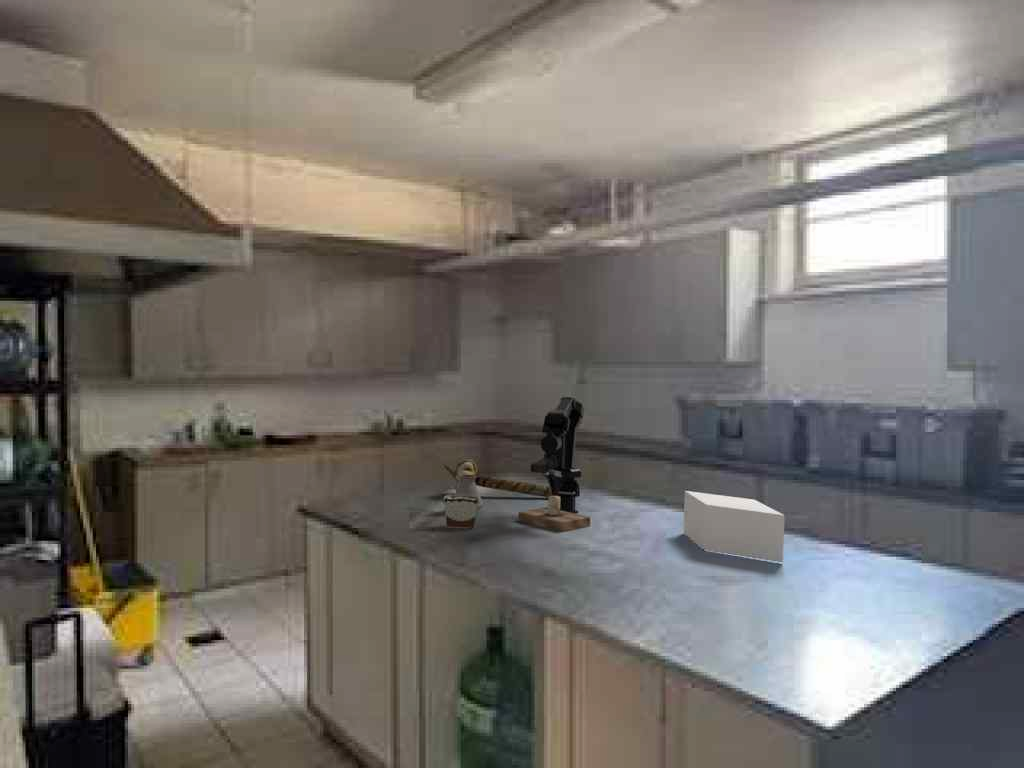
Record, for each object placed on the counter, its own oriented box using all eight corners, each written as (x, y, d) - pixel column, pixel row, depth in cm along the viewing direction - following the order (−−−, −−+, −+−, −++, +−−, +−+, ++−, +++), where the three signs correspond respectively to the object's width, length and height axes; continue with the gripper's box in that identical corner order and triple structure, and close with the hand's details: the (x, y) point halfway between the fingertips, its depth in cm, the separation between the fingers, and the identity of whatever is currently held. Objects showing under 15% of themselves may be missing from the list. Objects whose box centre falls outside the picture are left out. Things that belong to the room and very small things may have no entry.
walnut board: (546, 515, 267) (547, 507, 266) (589, 526, 252) (590, 517, 252) (518, 520, 257) (518, 512, 257) (561, 532, 242) (561, 522, 242)
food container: (481, 524, 250) (482, 494, 250) (479, 528, 244) (479, 498, 244) (445, 523, 251) (445, 493, 251) (441, 527, 245) (442, 496, 245)
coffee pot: (489, 512, 269) (490, 471, 268) (462, 516, 262) (463, 473, 261) (456, 502, 286) (456, 463, 285) (430, 505, 279) (431, 465, 278)
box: (706, 531, 250) (707, 488, 249) (806, 561, 215) (808, 512, 215) (659, 536, 240) (661, 492, 239) (757, 569, 205) (759, 518, 205)
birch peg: (553, 521, 257) (554, 495, 257) (562, 523, 254) (563, 497, 254) (545, 523, 255) (545, 496, 254) (553, 525, 252) (554, 498, 251)
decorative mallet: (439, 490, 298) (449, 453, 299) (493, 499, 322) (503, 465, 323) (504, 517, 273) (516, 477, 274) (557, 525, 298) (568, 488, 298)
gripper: (519, 448, 255) (518, 494, 255) (559, 454, 241) (558, 502, 242) (542, 446, 262) (541, 490, 263) (582, 452, 249) (581, 498, 250)
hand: (554, 495), depth 254 cm, fingers closed
